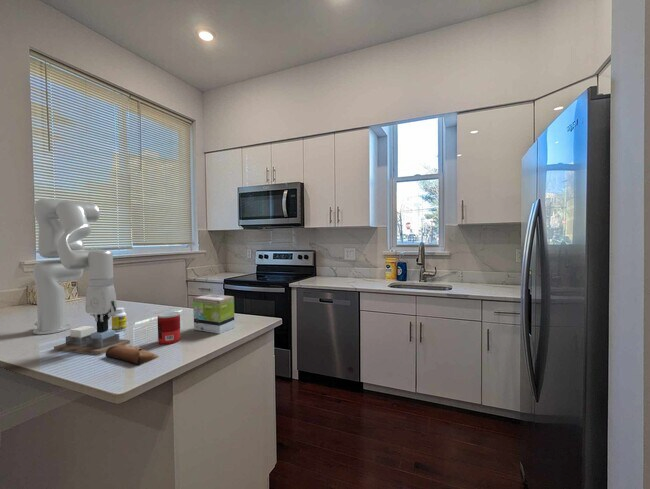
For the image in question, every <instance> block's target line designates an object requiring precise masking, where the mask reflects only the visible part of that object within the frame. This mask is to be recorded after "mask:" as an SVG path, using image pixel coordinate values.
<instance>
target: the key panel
mask: <svg viewBox="0 0 650 489" xmlns="http://www.w3.org/2000/svg"><path fill="white" fill-rule="evenodd" d="M130 343H131V340H130V339H124V338H123V339H122V338H120V333H115V335H113V336H110V337H108V338H105V339H102V340H101V339H91V335H88V336H84V337H81V338H79V337H70V335H69V336H65V342H64V343H60V344H58V345H55V346H53V350H54V351H62V352H72V353H81V354H88V355H89V354H90V355H98V356H99V355H101V356H102V355H103V354H104V355H105V354H106V351H107V350H108V348H110V347H112V346H120V345H123V346H124V345H125V346H128V345H129V344H130Z"/></svg>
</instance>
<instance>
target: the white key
mask: <svg viewBox="0 0 650 489" xmlns="http://www.w3.org/2000/svg"><path fill="white" fill-rule="evenodd" d="M69 332H70V334H69V336H70V337H79V338H81V337H84V336H88V335H91V333H94V332H96V331H95V326H92V325H91V326H90V325H82V326H79V327H76V328H72V329H71V328H70V330H69Z"/></svg>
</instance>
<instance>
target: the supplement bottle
mask: <svg viewBox="0 0 650 489" xmlns="http://www.w3.org/2000/svg"><path fill="white" fill-rule="evenodd" d="M114 313H115V316H112V317H111V330H115V333H117V332H122V331H125V330H127V313H126V312H125V307H117V309H116V311H115V312H114Z"/></svg>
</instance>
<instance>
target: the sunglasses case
mask: <svg viewBox="0 0 650 489" xmlns="http://www.w3.org/2000/svg"><path fill="white" fill-rule="evenodd" d="M105 357H107V358H114V359H118V360H122V361H126V362H130V363H133V364H135V365H138V366H142V365H144V364H147V363H150V362H152V361H153V360H156V359H159V358H160V356H159V355H158V354H155V353H153V352H151V351H148V350H145V349H143V348H142V347H139V346H132V345H131V346H130V345H124V346H123V345H120V346H112V347H110V348H108V350H107V351H106V353H105Z"/></svg>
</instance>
